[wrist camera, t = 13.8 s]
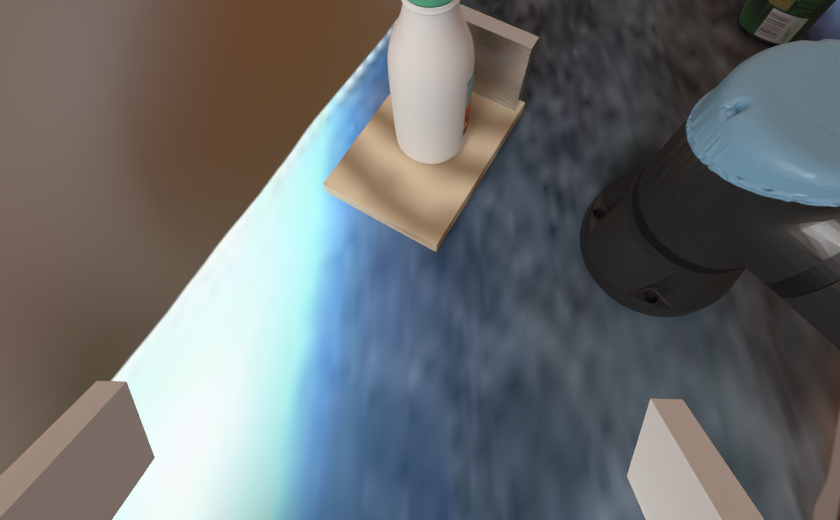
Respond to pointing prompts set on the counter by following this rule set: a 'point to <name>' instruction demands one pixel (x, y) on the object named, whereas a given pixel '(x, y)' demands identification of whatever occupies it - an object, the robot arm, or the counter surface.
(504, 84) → the bookend
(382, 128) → the shelf board
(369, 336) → the counter surface
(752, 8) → the coffee jar
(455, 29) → the milk bottle
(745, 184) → the robot arm
